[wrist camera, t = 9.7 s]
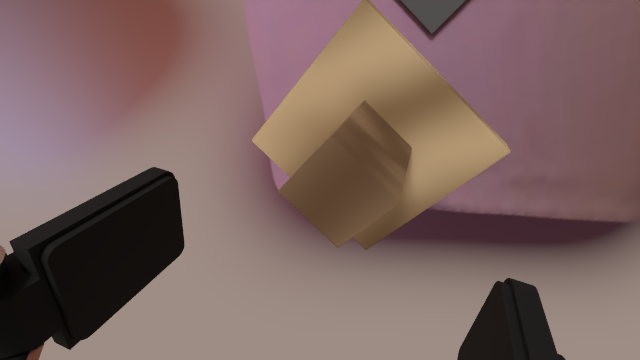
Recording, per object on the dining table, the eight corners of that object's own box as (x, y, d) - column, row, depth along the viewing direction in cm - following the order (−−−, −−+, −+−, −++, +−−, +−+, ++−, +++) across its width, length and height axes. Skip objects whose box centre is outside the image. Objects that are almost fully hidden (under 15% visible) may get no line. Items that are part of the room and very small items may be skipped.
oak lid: (506, 143, 17) (544, 217, 11) (369, 239, 22) (341, 325, 16) (368, -1, 16) (323, -11, 10) (260, 134, 21) (187, 182, 15)
